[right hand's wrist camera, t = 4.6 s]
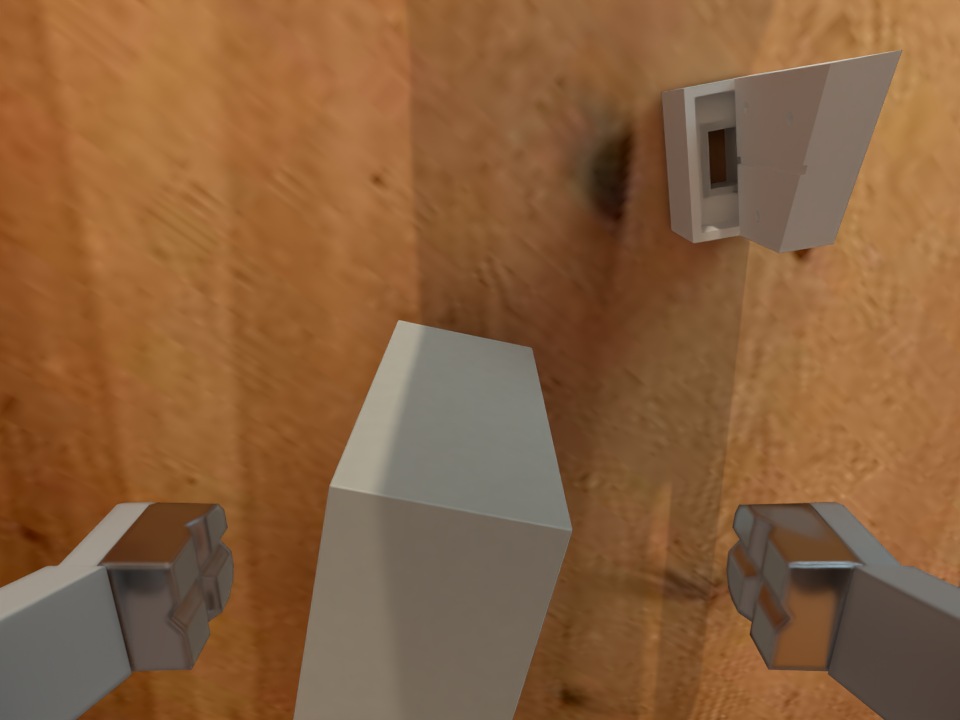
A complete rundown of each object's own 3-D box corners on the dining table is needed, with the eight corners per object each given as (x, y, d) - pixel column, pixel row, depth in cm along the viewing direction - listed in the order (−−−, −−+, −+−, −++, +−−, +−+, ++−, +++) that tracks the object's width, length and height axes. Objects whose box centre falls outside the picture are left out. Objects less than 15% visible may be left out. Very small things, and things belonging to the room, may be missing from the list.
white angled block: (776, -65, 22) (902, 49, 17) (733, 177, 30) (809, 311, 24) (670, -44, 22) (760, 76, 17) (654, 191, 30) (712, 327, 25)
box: (398, 319, 26) (328, 484, 14) (532, 347, 27) (573, 530, 15) (329, 705, 34) (245, 1025, 22) (434, 722, 34) (409, 1045, 22)
